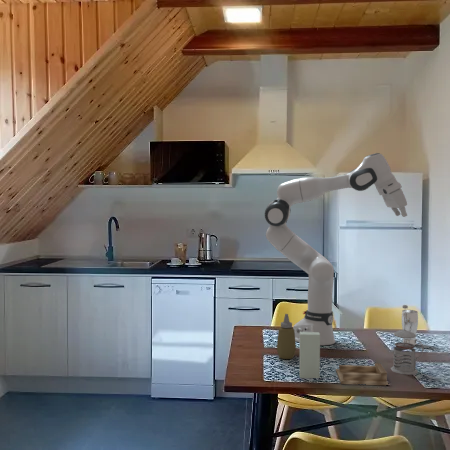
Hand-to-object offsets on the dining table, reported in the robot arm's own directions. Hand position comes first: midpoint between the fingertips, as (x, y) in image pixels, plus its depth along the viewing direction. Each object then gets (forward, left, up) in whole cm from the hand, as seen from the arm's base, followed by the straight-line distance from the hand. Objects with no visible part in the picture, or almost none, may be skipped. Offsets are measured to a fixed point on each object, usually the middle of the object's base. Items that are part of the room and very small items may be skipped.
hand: (401, 215), depth 207 cm
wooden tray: (+7, -45, -58) cm, 74 cm away
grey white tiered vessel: (+15, -25, -59) cm, 66 cm away
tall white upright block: (-7, -57, -58) cm, 82 cm away
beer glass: (0, +11, -59) cm, 60 cm away
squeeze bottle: (-27, -45, -59) cm, 79 cm away
